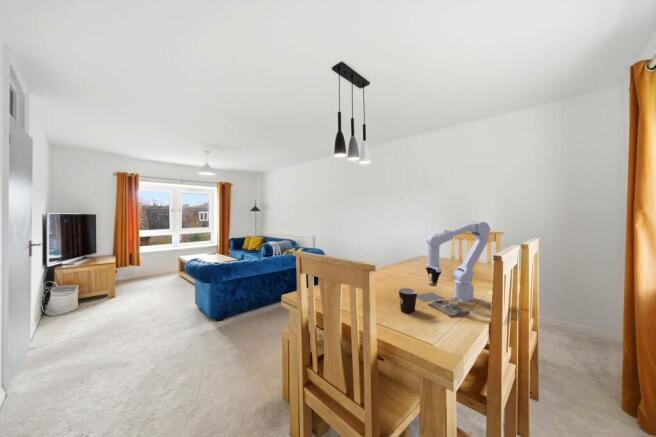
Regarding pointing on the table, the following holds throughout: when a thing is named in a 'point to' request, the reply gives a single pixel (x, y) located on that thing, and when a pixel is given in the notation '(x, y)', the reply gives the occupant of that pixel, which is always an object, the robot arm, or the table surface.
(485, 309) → the table surface
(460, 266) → the robot arm
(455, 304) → the cream teal cylinder
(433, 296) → the mat
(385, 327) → the table surface
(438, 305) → the brown compartment tray
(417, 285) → the table surface
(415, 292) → the coffee mug
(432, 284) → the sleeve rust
